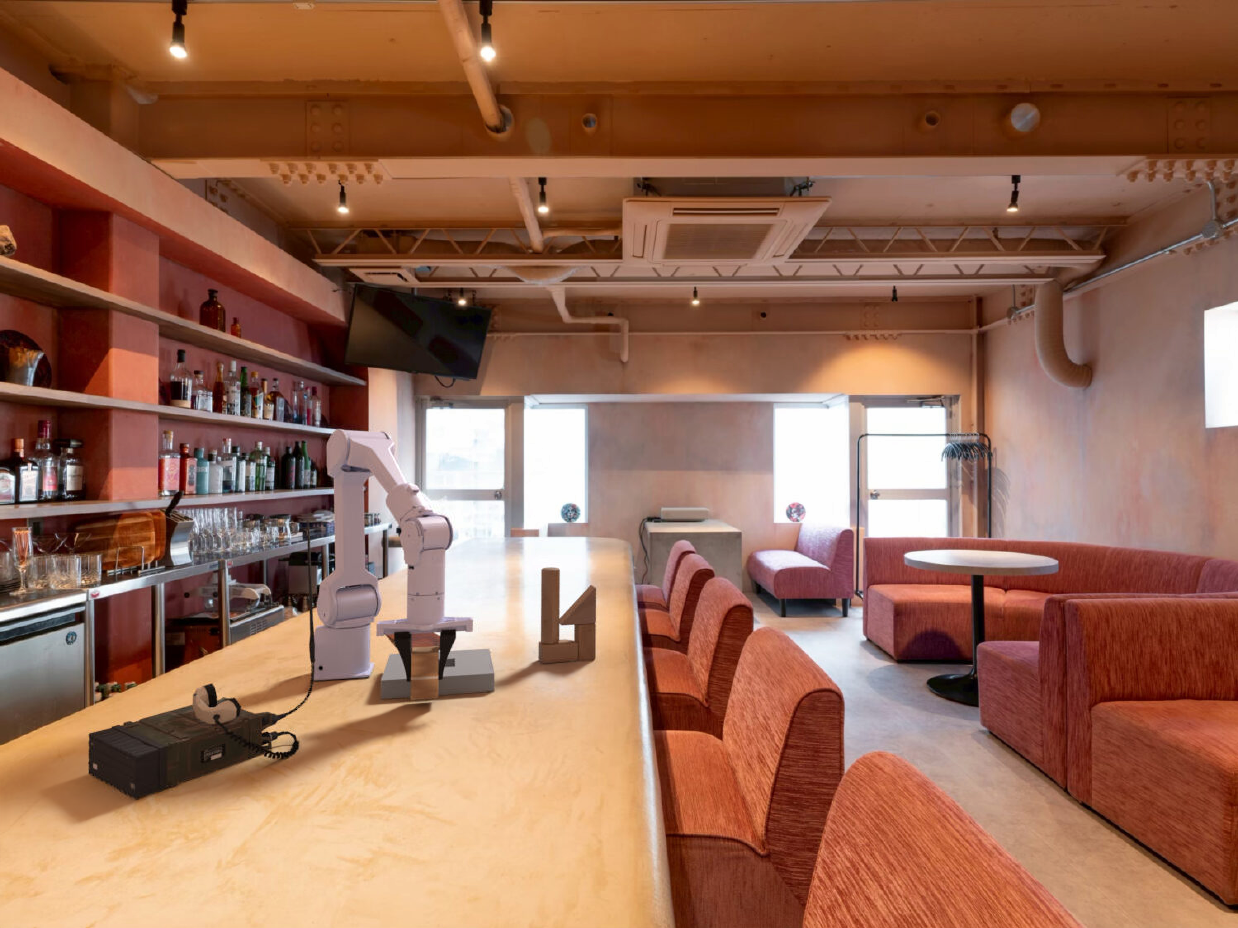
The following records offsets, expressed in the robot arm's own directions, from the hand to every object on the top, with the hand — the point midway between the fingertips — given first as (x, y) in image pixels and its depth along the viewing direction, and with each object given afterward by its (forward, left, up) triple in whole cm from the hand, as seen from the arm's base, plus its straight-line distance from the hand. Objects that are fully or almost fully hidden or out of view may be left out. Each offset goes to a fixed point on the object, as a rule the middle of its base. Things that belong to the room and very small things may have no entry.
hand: (425, 678), depth 106 cm
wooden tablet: (-4, +45, -5) cm, 45 cm away
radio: (-25, -14, -5) cm, 29 cm away
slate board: (+2, +12, -4) cm, 13 cm away
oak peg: (0, 0, -3) cm, 2 cm away
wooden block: (+26, +20, -4) cm, 33 cm away
